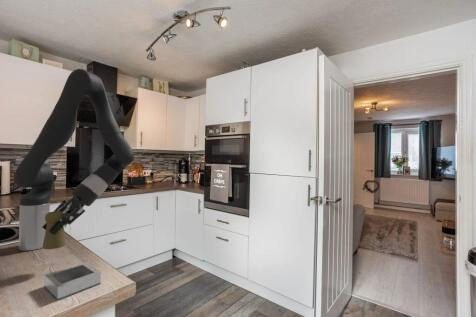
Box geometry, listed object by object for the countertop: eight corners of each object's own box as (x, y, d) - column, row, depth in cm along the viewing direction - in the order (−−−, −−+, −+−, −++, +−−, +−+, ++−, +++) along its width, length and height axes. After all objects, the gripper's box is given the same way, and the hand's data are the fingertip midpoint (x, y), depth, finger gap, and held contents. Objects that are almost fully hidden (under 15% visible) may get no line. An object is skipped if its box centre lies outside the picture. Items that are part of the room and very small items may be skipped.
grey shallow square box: (44, 286, 67) (44, 274, 67) (85, 272, 76) (85, 262, 76) (57, 300, 61) (57, 287, 61) (100, 283, 70) (100, 272, 70)
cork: (62, 240, 82) (63, 208, 82) (68, 245, 78) (69, 211, 78) (40, 245, 77) (41, 211, 77) (45, 250, 73) (46, 215, 73)
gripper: (73, 180, 88) (30, 220, 78) (91, 185, 79) (45, 229, 70) (89, 193, 92) (49, 232, 82) (107, 199, 83) (66, 242, 74)
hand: (48, 231), depth 76 cm, fingers closed on cork, 5 cm apart
